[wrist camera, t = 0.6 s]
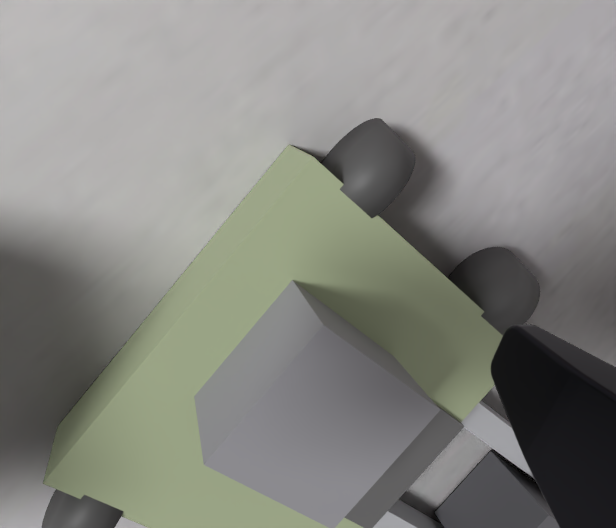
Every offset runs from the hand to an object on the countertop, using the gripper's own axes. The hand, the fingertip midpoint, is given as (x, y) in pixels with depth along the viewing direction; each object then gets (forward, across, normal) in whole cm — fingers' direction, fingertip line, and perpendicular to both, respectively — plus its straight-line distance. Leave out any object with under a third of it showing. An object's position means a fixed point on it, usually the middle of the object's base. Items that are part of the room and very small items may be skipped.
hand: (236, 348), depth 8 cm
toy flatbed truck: (+12, -12, +17) cm, 24 cm away
